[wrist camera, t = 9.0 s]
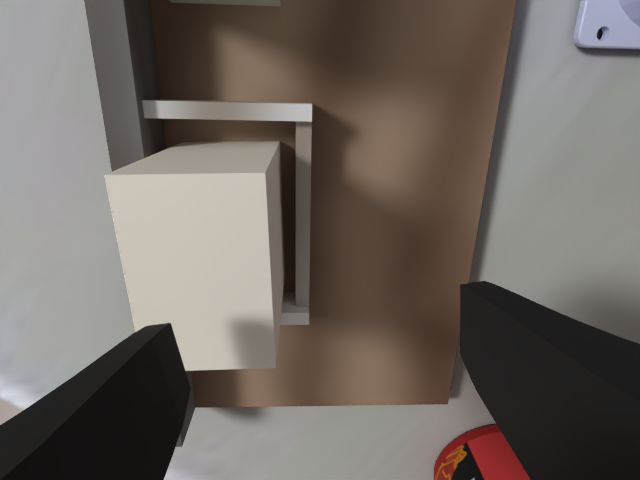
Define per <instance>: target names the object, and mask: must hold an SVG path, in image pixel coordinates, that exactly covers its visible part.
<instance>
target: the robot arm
mask: <svg viewBox="0 0 640 480" xmlns="http://www.w3.org/2000/svg"><path fill="white" fill-rule="evenodd" d="M600 28H601V29H602V31H603V35H602V37H601V39H600V40H598V38H597V32H598V30H599V29H600ZM574 42H575V44H576V45H577V46H578V47H582V48H609V49H640V0H581V3H580V8H579V12H578V17H577V22H576V26H575V31H574ZM460 354H461V357H462V359H463V361H464V364H465V366H466V368H467V371H468V373H469V375H470V377H471V380H472V382H473V384H474V386H475V388H476V390H477V392H478V394H479V395H480V397H481V399H482V401H483V402H484V404H485V406H486V407H487V409H488V411H489V412H490V414H491V416H492V417H493V419H494V421H495V422H496V424H497V425H498V427H499V429H500V430H501V432H502V434H503V435H504V437H505V439H506V440H507V442H508V443H509V445H510V447H511V448H512V450H513V452H514V453H515V455H516V457H517V458H518V460H519V461H520V463H521V465H522V466H523V468H524V470H525V471H526V473H527V475H528V476H529V478H530V480H640V344H638V343H635V342H632V341H629V340H626V339H623V338H621V337H618V336H615V335H613V334H610V333H607V332H605V331H602V330H600V329H597V328H595V327H592V326H589V325H587V324H584V323H582V322H579V321H577V320H575V319H572V318H570V317H567V316H565V315H563V314H560V313H558V312H556V311H554V310H551V309H549V308H547V307H545V306H542V305H540V304H538V303H536V302H533V301H531V300H529V299H527V298H525V297H522V296H520V295H518V294H516V293H513V292H511V291H509V290H507V289H504V288H502V287H500V286H497V285H495V284H492V283H489V282H486V281H482V282H474V283H466V284H460ZM190 390H191V388H190V384H189V381H188V378H187V374H186V371H185V368H184V365H183V361H182V358H181V355H180V352H179V348H178V345H177V342H176V339H175V335H174V332H173V329H172V326H171V323H164V324H157V325H149V326H145V327H144V328H142V329H140V330H138V331H137V332H135V333H134V334H132V335H131V336H129V337H128V338H126V339H125V340H123V341H122V342H121V343H119V344H118V345H116V346H115V347H114V348H112V349H111V350H109V351H108V352H107V353H105V354H104V355H103V356H101V357H100V358H98V359H97V360H96V361H94V362H93V363H92V364H90V365H89V366H87V367H86V368H85V369H83V370H82V371H80V372H79V373H78V374H76V375H75V376H74V377H72V378H71V379H69V380H68V381H66V382H65V383H63V384H62V385H61V386H59V387H58V388H56V389H55V390H53V391H52V392H50V393H49V394H47V395H46V396H44V397H43V398H41V399H40V400H38V401H37V402H36V403H34V404H33V405H31V406H30V407H28V408H27V409H25V410H24V411H22V412H21V413H19V414H18V415H16V416H14V417H13V418H11V419H10V420H8V421H6V422H5V423H3V424H2V425H0V480H164V477H165V474H166V471H167V469H168V466H169V463H170V461H171V458H172V455H173V452H174V450H175V447H176V444H177V441H178V438H179V436H180V433H181V430H182V427H183V422H184V418H185V414H186V410H187V405H188V400H189V395H190Z"/></svg>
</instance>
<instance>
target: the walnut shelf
mask: <svg viewBox="0 0 640 480" xmlns="http://www.w3.org/2000/svg"><path fill="white" fill-rule="evenodd" d="M84 1H85V7H86V14H87V20H88V26H89V32H90V38H91V45H92V51H93V57H94V63H95V69H96V76H97V82H98V88H99V94H100V100H101V107H102V113H103V119H104V125H105V131H106V138H107V144H108V150H109V156H110V162H111V169H112V172H113V171H115V170H117V169H120V168H122V167H125V166H127V165H129V164H132V163H134V162H137V161H139V160H141V159H144V158H146V157H149V156H151V155H153V154H156V153H158V152H161V151H163V150H165V149H168V148H170V147H173V146H175V145H177V144H180V143H182V142H238V141H280V157H281V182H282V207H283V232H284V257H285V277H284V288H283V298H282V309H281V319H280V329H279V340H278V350H277V361H276V368H258V369H226V370H195V371H186V374H187V378H188V381H189V384H190V388H191V390H190V395H189V400H188V405H187V410H186V414H185V418H184V422H183V427H182V430H181V433H180V436H179V438H178V441H177V444H176V447H182V445H183V442H184V439H185V436H186V433H187V430H188V427H189V424H190V421H191V418H192V416H193V413H194V410H195V407H269V406H342V405H415V404H448V400H449V394H450V389H451V383H452V377H453V371H454V365H455V359H456V353H457V347H458V342H459V336H460V284H466V283H469V277H470V271H471V265H472V259H473V254H474V248H475V242H476V236H477V230H478V224H479V218H480V212H481V207H482V201H483V195H484V189H485V183H486V177H487V171H488V165H489V160H490V154H491V148H492V142H493V136H494V130H495V124H496V119H497V113H498V107H499V101H500V95H501V89H502V83H503V77H504V72H505V66H506V60H507V54H508V48H509V42H510V36H511V30H512V25H513V19H514V13H515V7H516V1H517V0H280V6H255V5H225V4H196V3H172V2H171V1H169V0H84Z"/></svg>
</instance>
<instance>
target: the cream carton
mask: <svg viewBox="0 0 640 480" xmlns="http://www.w3.org/2000/svg"><path fill="white" fill-rule="evenodd" d="M104 176H105V181H106V186H107V192H108V197H109V202H110V207H111V212H112V217H113V222H114V227H115V232H116V237H117V242H118V247H119V252H120V257H121V262H122V267H123V273H124V278H125V283H126V288H127V293H128V298H129V303H130V308H131V313H132V318H133V323H134V328H135V332H137V331H138V330H140V329H142V328H144V327H145V326H149V325H157V324H164V323H171V326H172V329H173V332H174V335H175V339H176V342H177V345H178V348H179V352H180V355H181V358H182V361H183V365H184V368H185V371H195V370H226V369H258V368H276V361H277V350H278V340H279V329H280V319H281V309H282V298H283V288H284V277H285V257H284V232H283V207H282V182H281V157H280V141H238V142H182V143H180V144H177V145H175V146H173V147H170V148H168V149H165V150H163V151H161V152H158V153H156V154H153V155H151V156H149V157H146V158H144V159H141V160H139V161H137V162H134V163H132V164H129V165H127V166H125V167H122V168H120V169H117V170H115V171H113V172H110V173H108V174H105V175H104Z"/></svg>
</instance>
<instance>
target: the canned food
mask: <svg viewBox="0 0 640 480" xmlns="http://www.w3.org/2000/svg"><path fill="white" fill-rule="evenodd" d="M434 480H530V478H529V476H528V475H527V473H526V471H525V470H524V468H523V466H522V465H521V463H520V461H519V460H518V458H517V457H516V455H515V453H514V452H513V450H512V448H511V447H510V445H509V443H508V442H507V440H506V439H505V437H504V435H503V434H502V432H501V430H500V429H499V427H498V425H497V424H494V425H487V426H482V427H478V428H475V429H473V430H470V431H468V432H465V433H464V434H462V435H460V436H458V437H457V438H455V439H454V440H453V441H452V442H450V443H449V444H448V445H447V446H446V447H445V448H444V449H443V451H442V452H441V453H440V455H439V457H438V459H437V460H436V464H435V467H434Z"/></svg>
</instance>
